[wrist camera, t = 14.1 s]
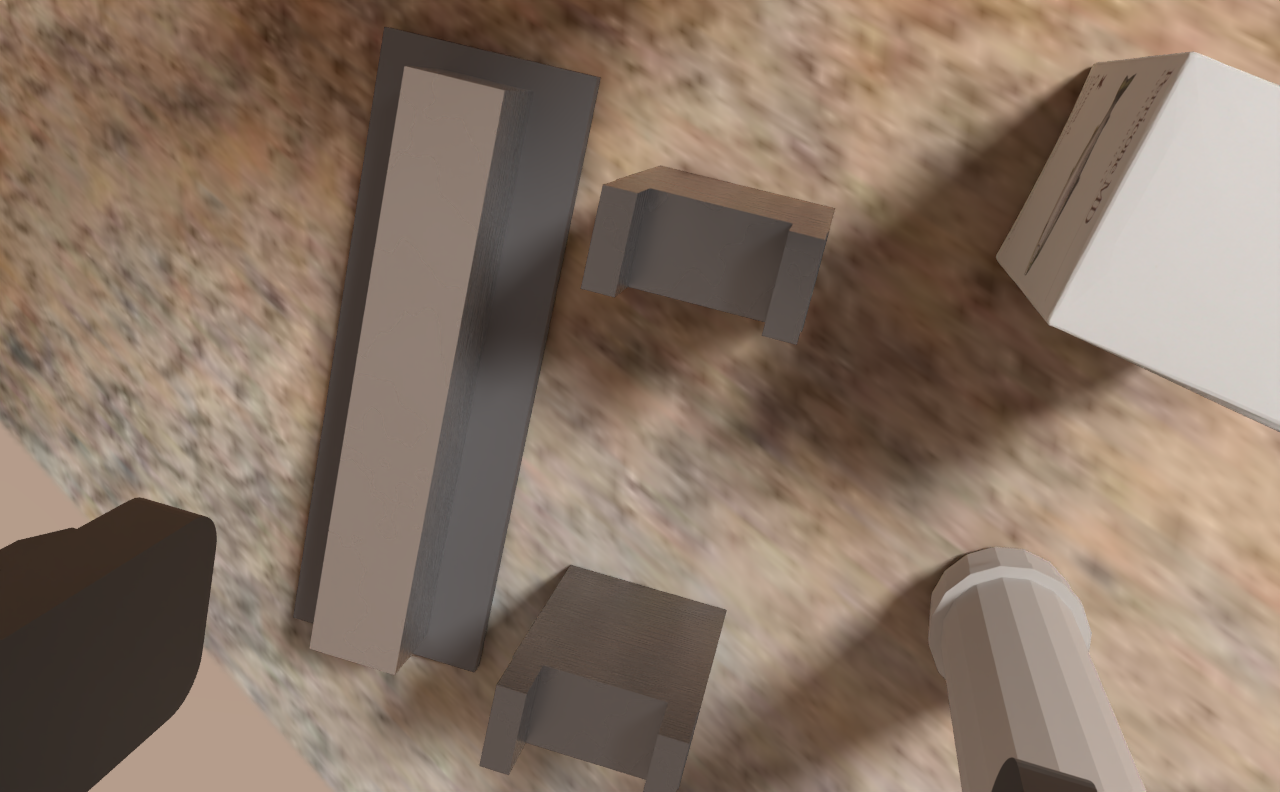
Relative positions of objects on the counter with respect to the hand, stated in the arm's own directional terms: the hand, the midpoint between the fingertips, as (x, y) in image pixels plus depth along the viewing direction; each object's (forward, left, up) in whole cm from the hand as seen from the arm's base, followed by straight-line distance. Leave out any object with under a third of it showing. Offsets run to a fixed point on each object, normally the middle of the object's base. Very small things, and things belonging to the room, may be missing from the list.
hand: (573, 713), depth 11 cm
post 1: (-1, -2, -32) cm, 32 cm away
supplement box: (-5, +11, -32) cm, 34 cm away
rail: (+7, -12, -32) cm, 34 cm away
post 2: (+15, -2, -32) cm, 35 cm away
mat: (+7, -12, -32) cm, 35 cm away
